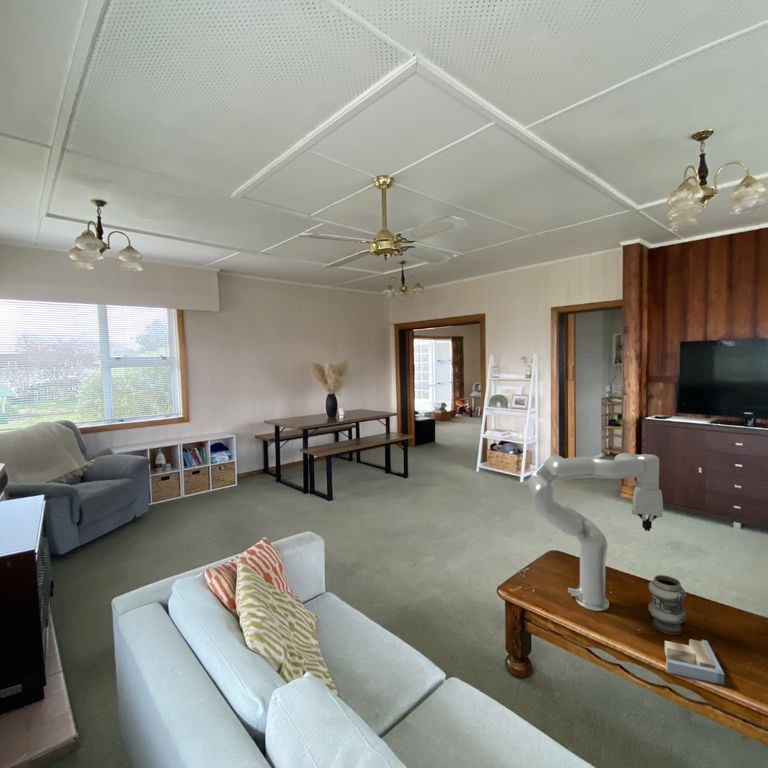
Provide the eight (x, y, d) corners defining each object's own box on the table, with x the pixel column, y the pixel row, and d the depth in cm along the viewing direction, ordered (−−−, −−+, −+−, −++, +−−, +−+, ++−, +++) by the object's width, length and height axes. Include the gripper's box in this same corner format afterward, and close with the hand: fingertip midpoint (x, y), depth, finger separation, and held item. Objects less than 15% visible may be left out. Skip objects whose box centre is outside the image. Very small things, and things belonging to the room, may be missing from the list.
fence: (667, 672, 138) (667, 661, 137) (656, 640, 153) (656, 630, 153) (724, 685, 132) (724, 674, 132) (706, 650, 147) (707, 640, 147)
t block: (669, 667, 140) (669, 655, 140) (662, 644, 151) (662, 633, 151) (714, 677, 135) (714, 665, 135) (702, 652, 146) (703, 641, 146)
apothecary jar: (645, 613, 169) (646, 569, 168) (682, 620, 164) (683, 575, 163) (650, 631, 158) (651, 584, 157) (689, 639, 153) (690, 591, 152)
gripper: (627, 486, 170) (627, 530, 171) (671, 490, 164) (670, 536, 165) (625, 481, 177) (624, 523, 178) (667, 484, 171) (666, 528, 172)
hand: (646, 529), depth 172 cm, fingers closed
